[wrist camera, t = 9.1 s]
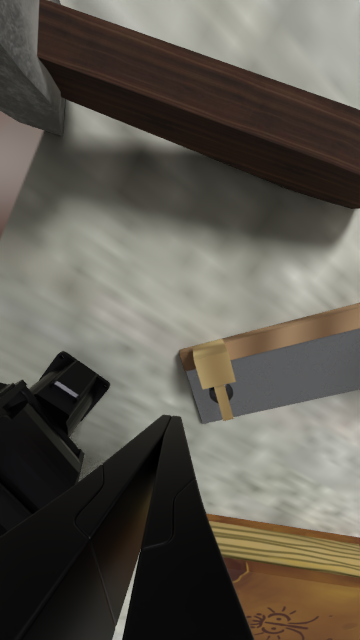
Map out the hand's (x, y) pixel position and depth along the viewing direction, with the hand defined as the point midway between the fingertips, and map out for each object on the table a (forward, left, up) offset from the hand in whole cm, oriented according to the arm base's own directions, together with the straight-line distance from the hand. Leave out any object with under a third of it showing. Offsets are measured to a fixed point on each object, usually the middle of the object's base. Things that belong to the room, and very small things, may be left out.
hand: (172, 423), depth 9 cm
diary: (-21, -34, -13) cm, 42 cm away
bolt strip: (+6, -14, -13) cm, 20 cm away
